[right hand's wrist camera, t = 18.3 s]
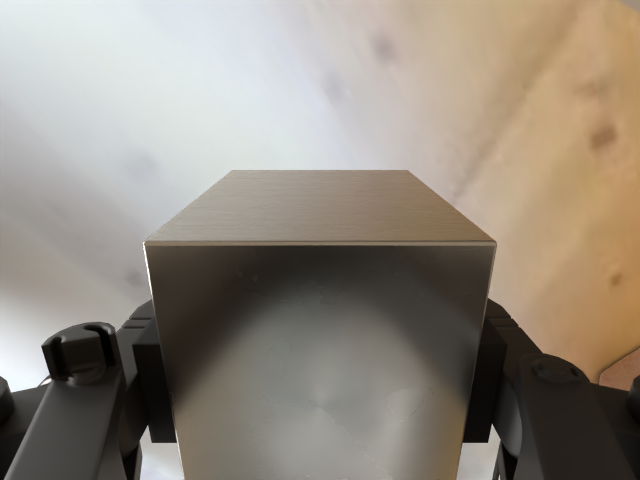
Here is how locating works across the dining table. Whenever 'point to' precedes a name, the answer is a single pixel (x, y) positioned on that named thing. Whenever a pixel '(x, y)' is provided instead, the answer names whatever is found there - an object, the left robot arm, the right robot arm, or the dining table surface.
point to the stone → (622, 372)
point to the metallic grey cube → (319, 326)
